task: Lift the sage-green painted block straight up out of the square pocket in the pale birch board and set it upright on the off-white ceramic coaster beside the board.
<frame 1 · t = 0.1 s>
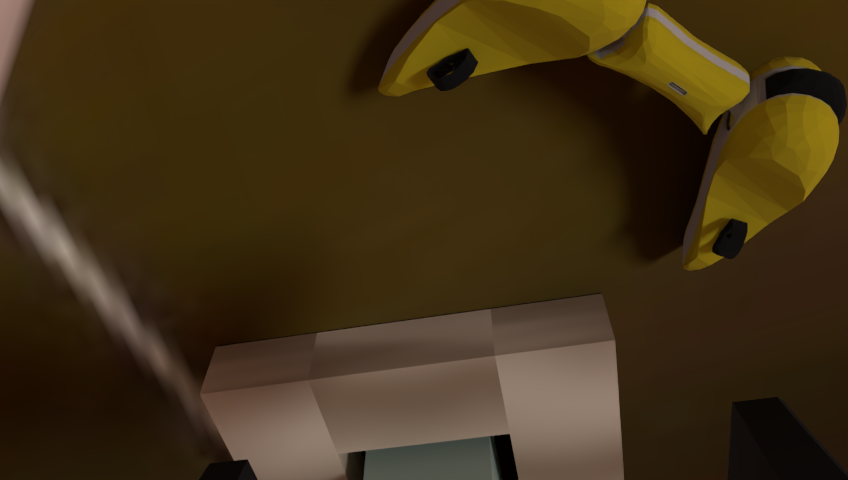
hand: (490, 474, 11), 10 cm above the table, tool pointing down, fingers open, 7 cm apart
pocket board: (438, 448, 26), on the table
game controller: (611, 72, 19), on the table
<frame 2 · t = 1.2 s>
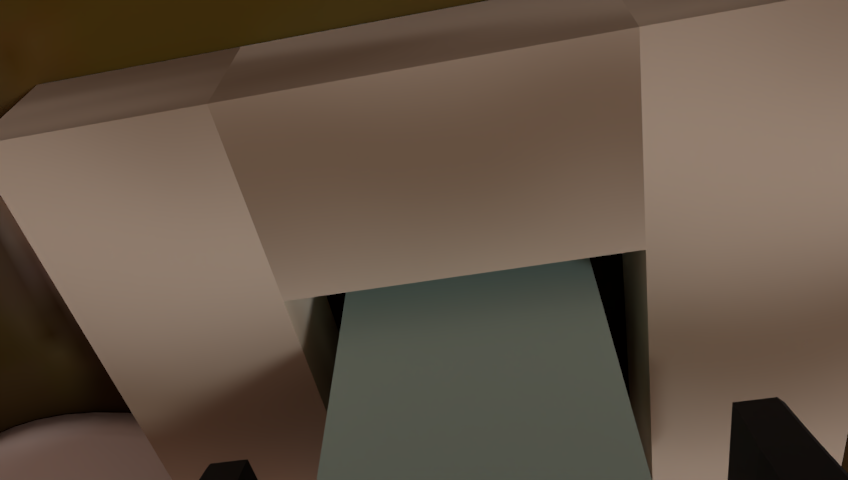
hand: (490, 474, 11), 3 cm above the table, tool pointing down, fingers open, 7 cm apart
block: (489, 446, 12), in the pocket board
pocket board: (480, 322, 14), on the table
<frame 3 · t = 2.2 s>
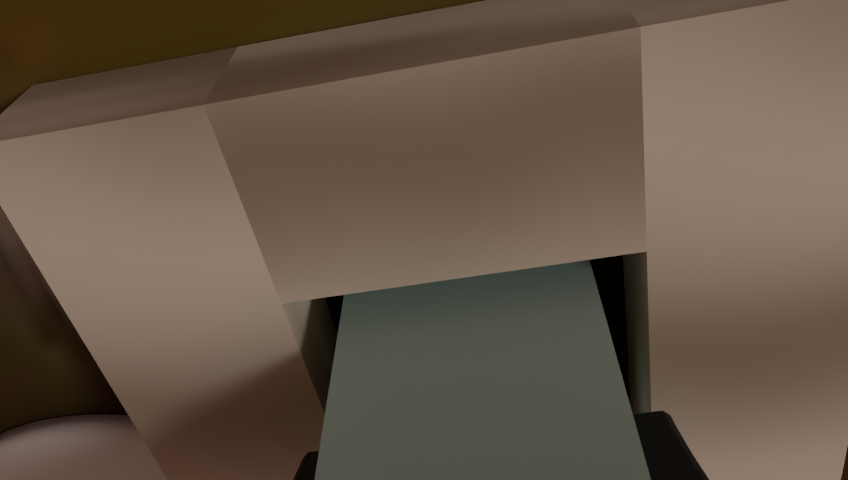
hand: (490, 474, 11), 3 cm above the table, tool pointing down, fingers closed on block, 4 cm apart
block: (488, 451, 12), in the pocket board, touching gripper
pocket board: (479, 324, 14), on the table
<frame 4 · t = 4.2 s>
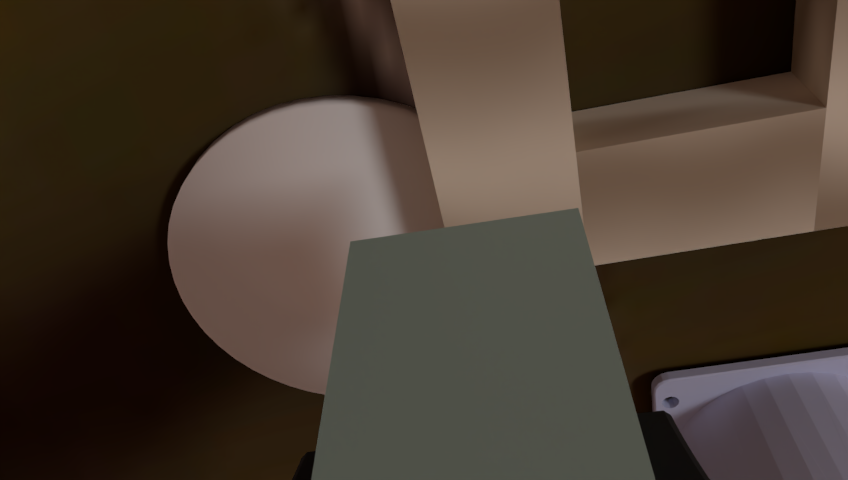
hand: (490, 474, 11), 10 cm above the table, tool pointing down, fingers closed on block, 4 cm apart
block: (487, 437, 12), point 9 cm above the table, touching gripper
coaster: (352, 258, 21), on the table
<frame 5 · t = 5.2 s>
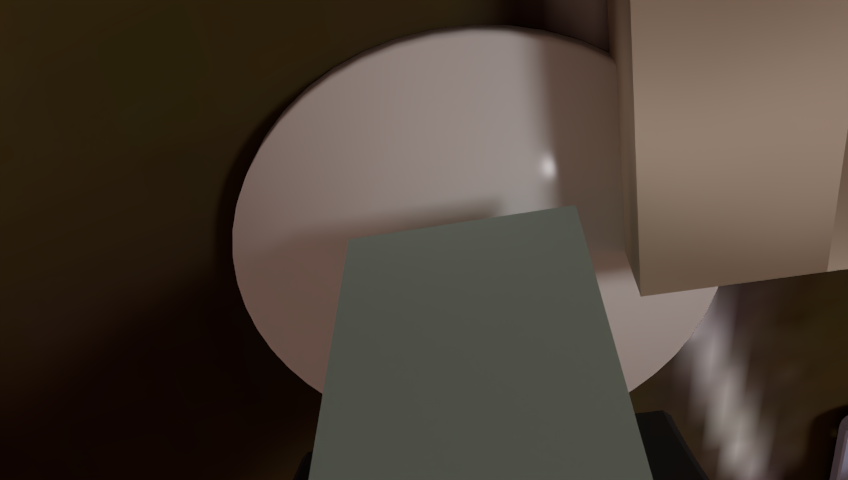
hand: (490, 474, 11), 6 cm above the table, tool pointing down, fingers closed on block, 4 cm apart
block: (485, 433, 12), point 5 cm above the table, touching gripper
coaster: (476, 256, 16), on the table
when the fingers open (5 cm above the table, at t = 6.1 s): block stays where it is, resting on coaster.
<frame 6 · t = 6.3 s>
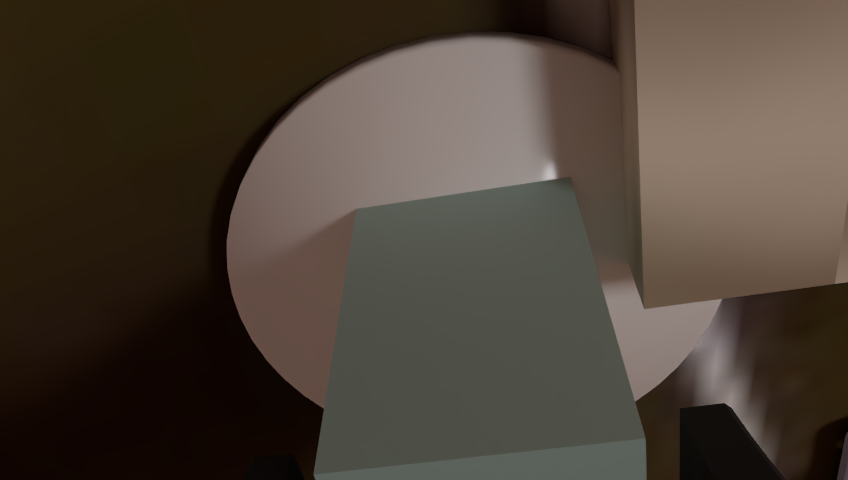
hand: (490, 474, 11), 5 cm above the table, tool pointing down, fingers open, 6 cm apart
block: (484, 387, 13), on the coaster, point 4 cm above the table
coaster: (475, 266, 16), on the table
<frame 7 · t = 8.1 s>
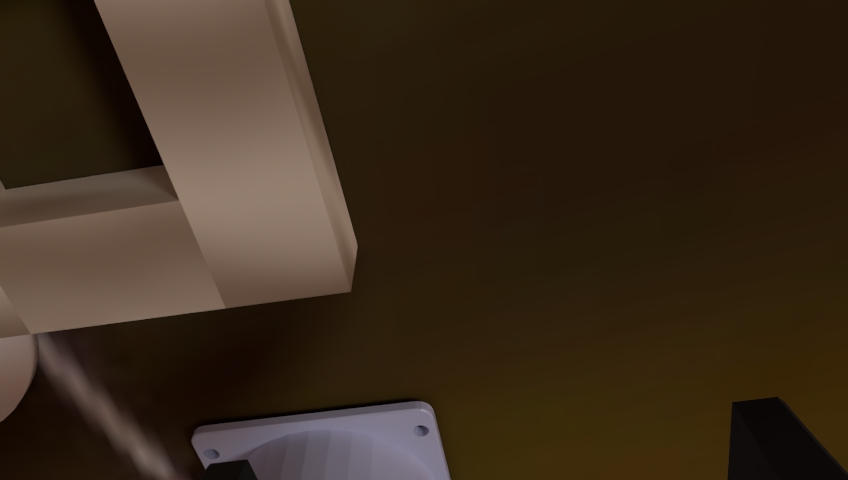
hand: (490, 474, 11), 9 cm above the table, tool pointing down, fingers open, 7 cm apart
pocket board: (54, 77, 18), on the table
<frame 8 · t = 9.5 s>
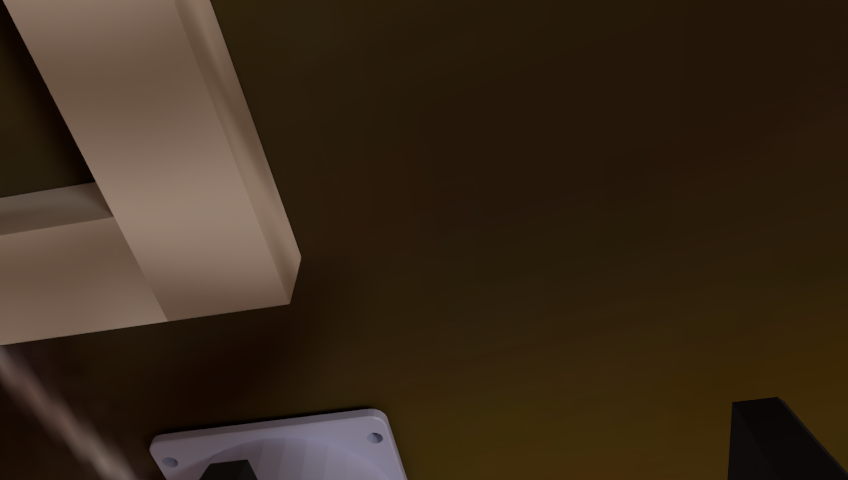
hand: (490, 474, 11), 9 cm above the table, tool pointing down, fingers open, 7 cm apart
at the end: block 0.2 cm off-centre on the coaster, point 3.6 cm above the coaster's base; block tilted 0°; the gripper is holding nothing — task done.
